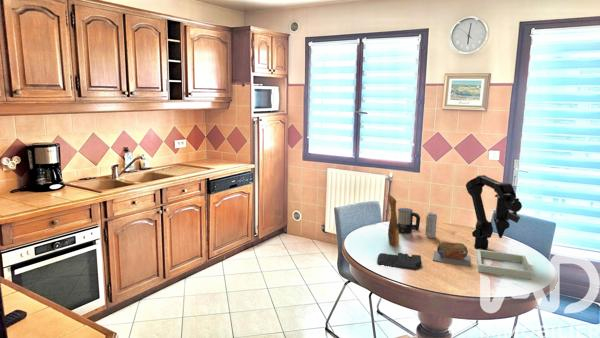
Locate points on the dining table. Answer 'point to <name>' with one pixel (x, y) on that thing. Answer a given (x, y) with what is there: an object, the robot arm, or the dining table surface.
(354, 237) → the dining table surface
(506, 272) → the grey square frame
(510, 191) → the robot arm
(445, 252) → the tin
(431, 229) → the energy drink can
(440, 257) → the slate mat
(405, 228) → the milk frother
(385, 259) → the dark slate chunk
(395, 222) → the pancake mix bag
